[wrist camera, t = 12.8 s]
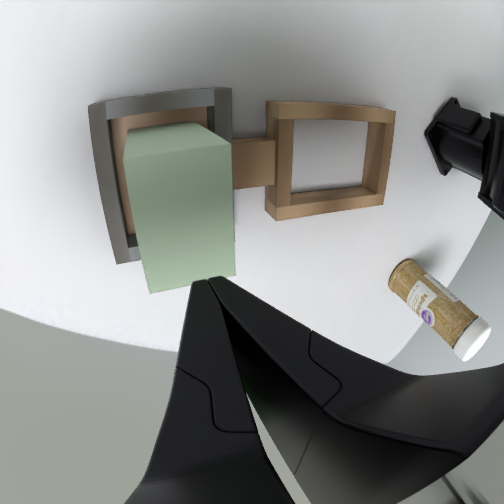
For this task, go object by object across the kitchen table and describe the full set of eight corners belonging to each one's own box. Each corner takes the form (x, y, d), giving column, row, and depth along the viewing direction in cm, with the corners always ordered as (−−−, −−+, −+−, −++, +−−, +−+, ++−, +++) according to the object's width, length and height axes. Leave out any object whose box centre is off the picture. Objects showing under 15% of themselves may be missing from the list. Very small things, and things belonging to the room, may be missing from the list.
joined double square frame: (379, 95, 21) (396, 99, 19) (366, 206, 26) (380, 215, 25) (92, 103, 15) (87, 106, 13) (117, 249, 20) (116, 264, 18)
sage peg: (198, 208, 21) (235, 275, 14) (140, 219, 19) (149, 293, 13) (192, 120, 17) (231, 143, 11) (127, 129, 16) (123, 159, 10)
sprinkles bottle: (385, 274, 33) (467, 352, 22) (412, 251, 33) (496, 320, 22) (389, 296, 35) (461, 369, 25) (415, 274, 35) (488, 340, 25)
